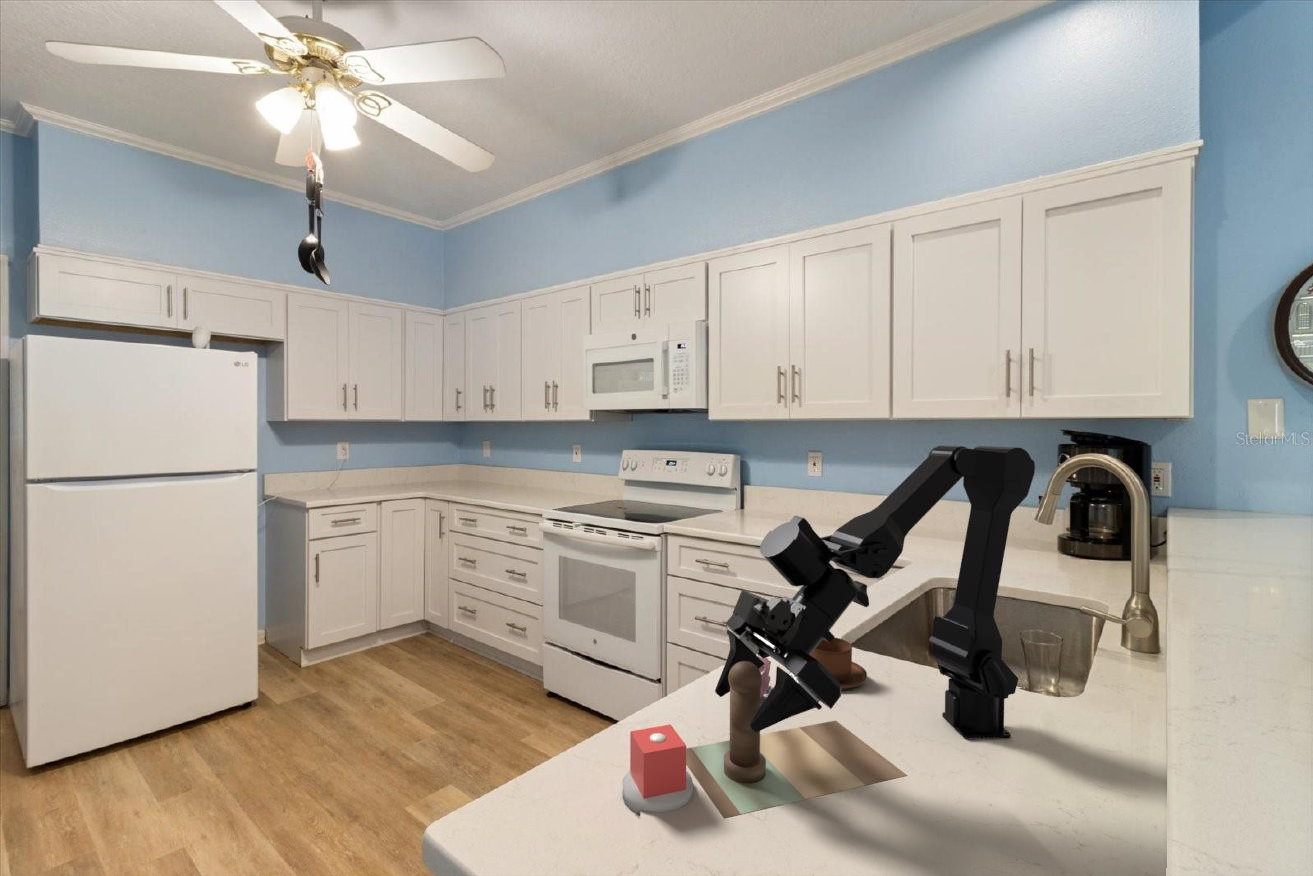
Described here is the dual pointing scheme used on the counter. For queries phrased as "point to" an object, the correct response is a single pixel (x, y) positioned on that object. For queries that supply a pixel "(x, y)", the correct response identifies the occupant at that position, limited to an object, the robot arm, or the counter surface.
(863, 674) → the cup and saucer
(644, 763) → the die stand
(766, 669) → the video game controller
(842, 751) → the game track
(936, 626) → the robot arm
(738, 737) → the pawn
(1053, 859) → the counter surface
